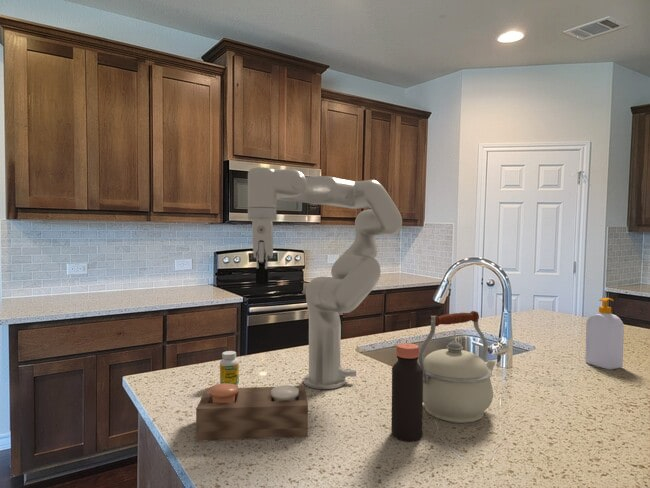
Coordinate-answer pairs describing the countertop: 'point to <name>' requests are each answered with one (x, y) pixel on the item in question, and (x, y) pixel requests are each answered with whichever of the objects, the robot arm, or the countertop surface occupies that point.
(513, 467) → the countertop surface
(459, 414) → the kettle
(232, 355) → the supplement bottle
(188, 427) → the countertop surface
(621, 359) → the soap bottle
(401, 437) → the vinegar
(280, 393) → the cream button
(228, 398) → the orange-brown round piece
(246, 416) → the wooden shaker caddy
